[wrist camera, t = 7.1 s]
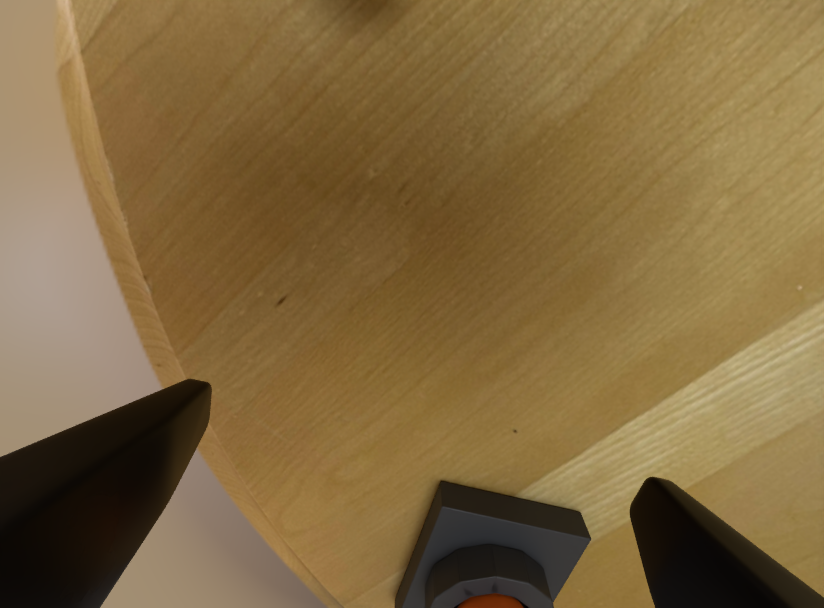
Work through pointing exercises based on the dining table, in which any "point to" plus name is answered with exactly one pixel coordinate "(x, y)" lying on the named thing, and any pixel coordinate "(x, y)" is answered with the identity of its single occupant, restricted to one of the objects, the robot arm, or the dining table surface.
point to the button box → (491, 550)
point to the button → (491, 602)
